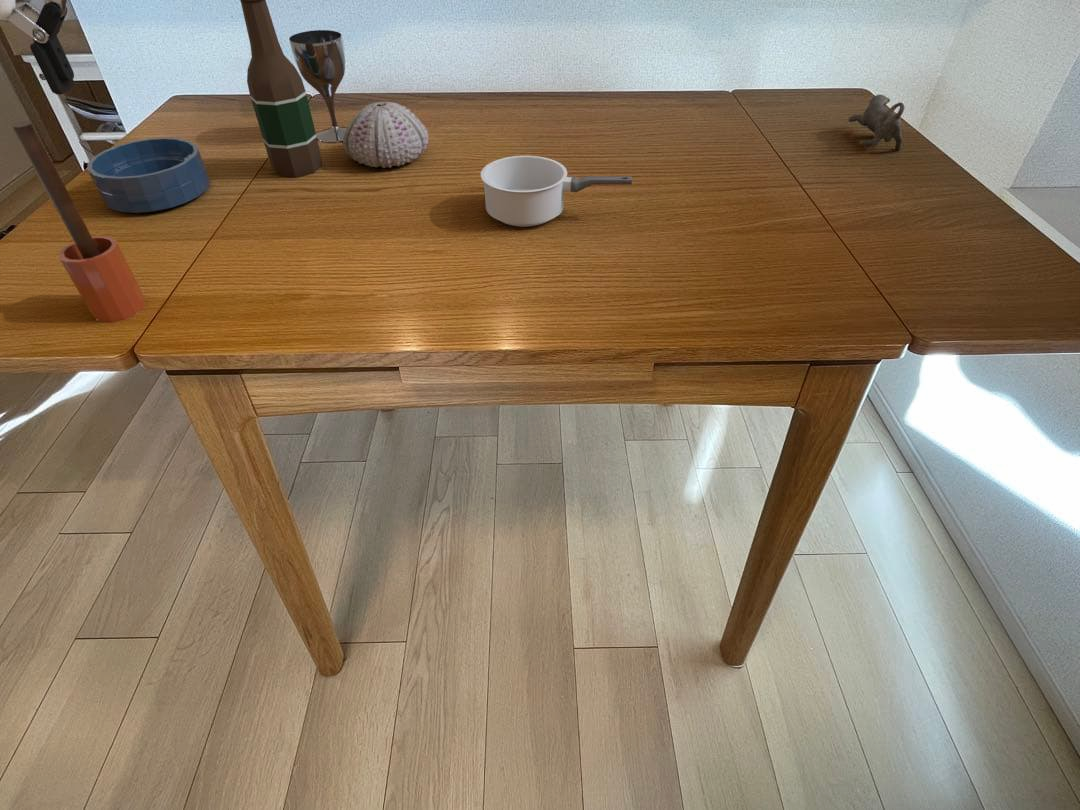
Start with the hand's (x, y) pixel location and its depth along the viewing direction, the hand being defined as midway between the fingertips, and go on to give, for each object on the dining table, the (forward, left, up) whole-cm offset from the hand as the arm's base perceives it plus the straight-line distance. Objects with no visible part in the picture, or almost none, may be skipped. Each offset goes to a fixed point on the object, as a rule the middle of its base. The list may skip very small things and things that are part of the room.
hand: (6, 93), depth 57 cm
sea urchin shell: (+29, +39, -24) cm, 54 cm away
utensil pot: (0, 0, -23) cm, 23 cm away
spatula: (0, 0, -23) cm, 23 cm away
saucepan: (+52, +15, -24) cm, 59 cm away
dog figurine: (+108, +32, -24) cm, 115 cm away
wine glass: (+20, +50, -24) cm, 59 cm away
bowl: (-4, +31, -23) cm, 39 cm away
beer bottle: (+15, +37, -23) cm, 46 cm away
